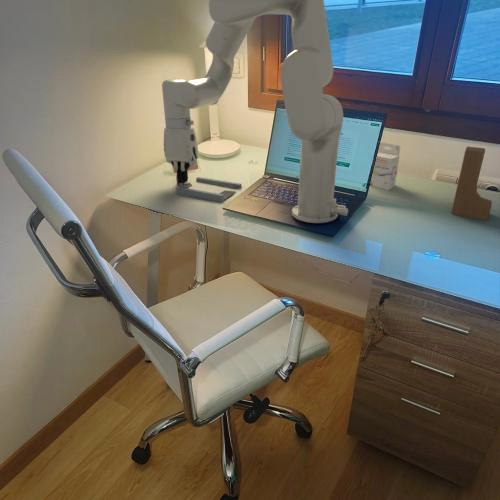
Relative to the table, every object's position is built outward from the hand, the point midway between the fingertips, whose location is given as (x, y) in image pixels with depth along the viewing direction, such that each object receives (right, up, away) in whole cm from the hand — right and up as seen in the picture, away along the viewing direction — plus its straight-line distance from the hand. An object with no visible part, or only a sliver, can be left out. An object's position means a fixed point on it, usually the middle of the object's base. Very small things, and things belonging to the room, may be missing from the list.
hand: (182, 182), depth 140 cm
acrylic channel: (+9, -4, -3) cm, 10 cm away
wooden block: (+81, -13, -20) cm, 85 cm away
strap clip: (-1, -1, +3) cm, 3 cm away
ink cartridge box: (+62, -4, -2) cm, 62 cm away
